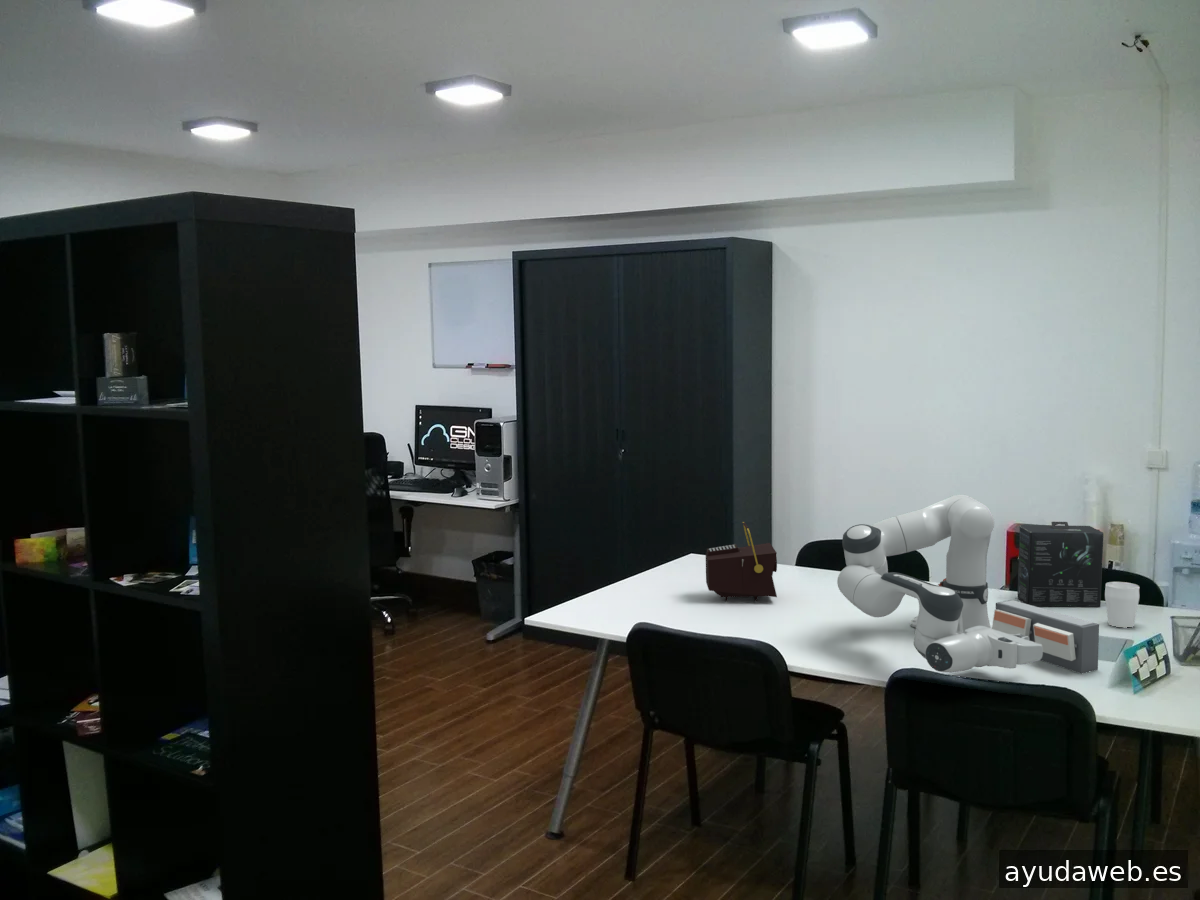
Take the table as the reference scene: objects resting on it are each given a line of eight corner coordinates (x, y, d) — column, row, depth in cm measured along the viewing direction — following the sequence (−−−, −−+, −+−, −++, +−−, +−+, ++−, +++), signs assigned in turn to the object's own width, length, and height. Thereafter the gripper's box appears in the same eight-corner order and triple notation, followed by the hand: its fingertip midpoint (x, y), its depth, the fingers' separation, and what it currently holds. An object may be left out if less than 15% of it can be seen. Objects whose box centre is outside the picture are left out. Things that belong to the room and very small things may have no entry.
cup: (1119, 631, 294) (1121, 590, 292) (1096, 622, 302) (1097, 583, 301) (1145, 628, 296) (1147, 587, 295) (1122, 619, 305) (1123, 580, 303)
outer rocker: (1071, 661, 259) (1069, 636, 258) (1034, 649, 269) (1031, 624, 268) (1078, 658, 260) (1076, 632, 259) (1041, 646, 270) (1038, 621, 269)
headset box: (1088, 597, 330) (1090, 518, 327) (1102, 607, 318) (1104, 525, 315) (1015, 597, 332) (1017, 519, 329) (1027, 607, 321) (1029, 526, 318)
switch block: (1081, 673, 259) (1082, 626, 258) (994, 645, 284) (995, 602, 283) (1113, 665, 264) (1115, 619, 263) (1025, 638, 289) (1026, 596, 288)
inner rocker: (1023, 645, 271) (1027, 619, 271) (989, 634, 281) (993, 609, 281) (1030, 645, 272) (1034, 619, 272) (996, 634, 282) (999, 609, 282)
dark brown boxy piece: (781, 604, 332) (780, 528, 329) (709, 606, 332) (708, 530, 330) (773, 591, 348) (773, 519, 345) (705, 593, 349) (704, 521, 346)
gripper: (953, 648, 262) (992, 639, 268) (1017, 670, 244) (1057, 661, 250) (953, 624, 262) (992, 616, 268) (1017, 645, 243) (1058, 636, 249)
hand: (1024, 638), depth 259 cm, fingers closed
